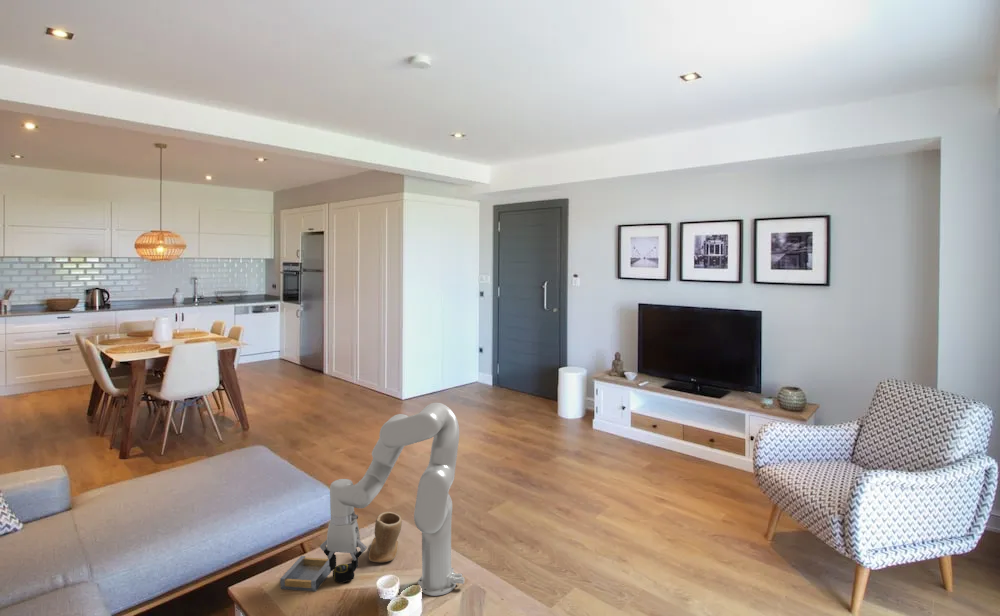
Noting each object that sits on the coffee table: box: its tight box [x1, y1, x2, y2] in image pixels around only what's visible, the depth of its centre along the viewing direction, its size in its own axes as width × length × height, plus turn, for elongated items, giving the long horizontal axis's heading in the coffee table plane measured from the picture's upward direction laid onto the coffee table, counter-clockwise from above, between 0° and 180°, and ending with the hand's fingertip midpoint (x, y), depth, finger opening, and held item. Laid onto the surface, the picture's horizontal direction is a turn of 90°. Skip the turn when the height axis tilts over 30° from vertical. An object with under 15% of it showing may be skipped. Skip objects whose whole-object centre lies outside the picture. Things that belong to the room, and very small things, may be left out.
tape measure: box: [332, 562, 355, 583], centre depth 181 cm, size 7×7×4 cm
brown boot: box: [368, 511, 403, 563], centre depth 196 cm, size 15×12×15 cm
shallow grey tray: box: [279, 555, 332, 592], centre depth 181 cm, size 12×14×4 cm
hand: (343, 568), depth 181 cm, fingers closed on tape measure, 6 cm apart
